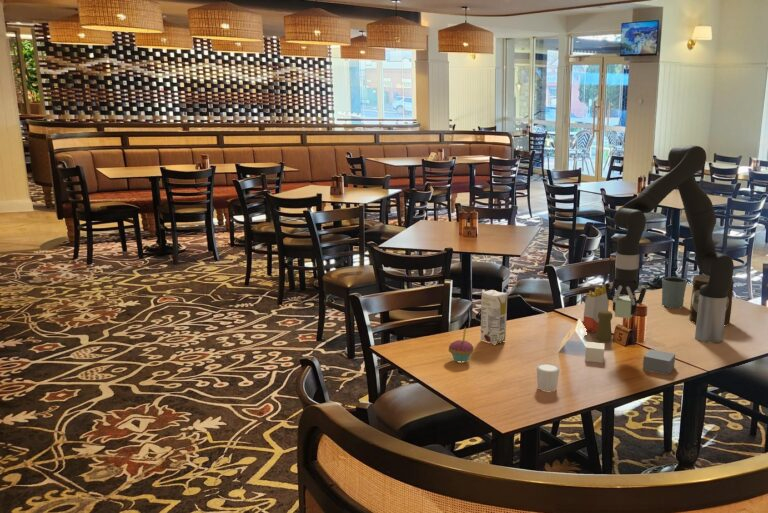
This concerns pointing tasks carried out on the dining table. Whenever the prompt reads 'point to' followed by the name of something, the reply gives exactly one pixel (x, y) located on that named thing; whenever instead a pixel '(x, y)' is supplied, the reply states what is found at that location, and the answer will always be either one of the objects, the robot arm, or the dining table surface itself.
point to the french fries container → (595, 308)
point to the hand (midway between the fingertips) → (624, 312)
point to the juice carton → (493, 316)
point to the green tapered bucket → (673, 291)
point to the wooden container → (697, 283)
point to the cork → (604, 326)
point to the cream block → (594, 352)
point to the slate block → (659, 362)
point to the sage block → (623, 307)
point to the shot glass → (547, 376)
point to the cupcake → (461, 349)
